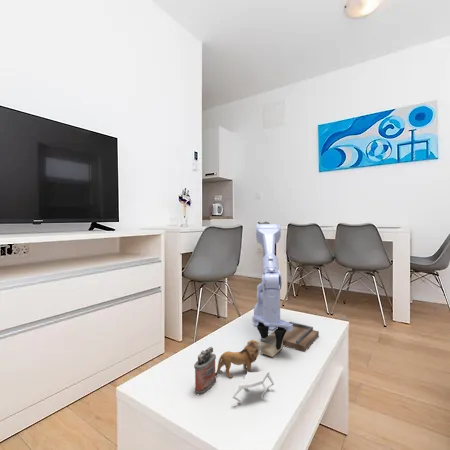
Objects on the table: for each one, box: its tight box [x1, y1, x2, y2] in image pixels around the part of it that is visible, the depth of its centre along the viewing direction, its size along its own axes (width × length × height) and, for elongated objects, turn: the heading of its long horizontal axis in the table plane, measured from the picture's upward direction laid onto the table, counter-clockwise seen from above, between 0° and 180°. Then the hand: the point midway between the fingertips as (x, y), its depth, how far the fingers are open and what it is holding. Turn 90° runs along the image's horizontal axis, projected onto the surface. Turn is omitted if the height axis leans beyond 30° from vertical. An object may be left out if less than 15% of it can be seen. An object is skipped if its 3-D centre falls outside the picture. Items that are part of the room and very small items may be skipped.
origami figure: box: [231, 370, 275, 404], centre depth 71 cm, size 12×8×5 cm
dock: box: [271, 321, 319, 353], centre depth 105 cm, size 14×15×3 cm
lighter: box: [193, 346, 217, 396], centre depth 76 cm, size 8×3×10 cm, turn 148°
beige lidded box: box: [260, 332, 284, 358], centre depth 95 cm, size 4×8×6 cm, turn 143°
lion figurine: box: [215, 339, 261, 379], centre depth 82 cm, size 15×5×9 cm, turn 110°
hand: (272, 346), depth 95 cm, fingers closed on beige lidded box, 4 cm apart
